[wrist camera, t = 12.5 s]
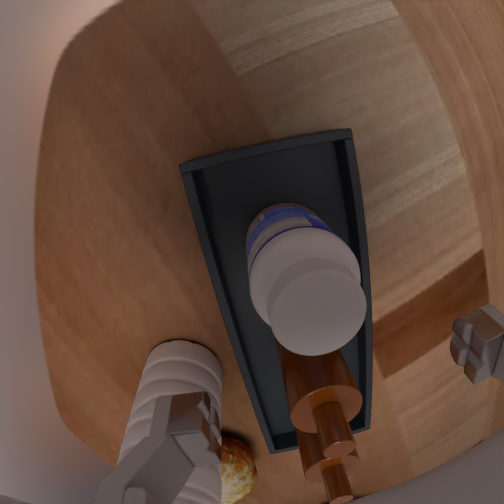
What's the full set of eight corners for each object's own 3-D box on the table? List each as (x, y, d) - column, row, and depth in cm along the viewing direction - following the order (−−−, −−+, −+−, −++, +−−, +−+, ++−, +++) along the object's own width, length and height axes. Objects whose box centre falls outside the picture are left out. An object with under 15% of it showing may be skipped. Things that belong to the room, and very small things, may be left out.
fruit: (276, 464, 31) (263, 523, 24) (201, 461, 34) (183, 511, 27) (236, 414, 27) (212, 488, 20) (152, 414, 30) (123, 471, 23)
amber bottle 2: (293, 421, 28) (313, 516, 17) (286, 392, 26) (308, 498, 16) (337, 409, 28) (368, 501, 17) (334, 380, 26) (372, 480, 16)
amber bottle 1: (279, 363, 25) (303, 477, 15) (269, 320, 23) (293, 439, 13) (331, 350, 25) (376, 456, 14) (326, 306, 23) (381, 414, 13)
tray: (362, 411, 29) (370, 428, 26) (268, 435, 29) (270, 454, 27) (337, 129, 19) (351, 128, 17) (185, 161, 20) (178, 164, 17)
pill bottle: (334, 257, 22) (396, 335, 13) (265, 290, 22) (286, 386, 13) (305, 186, 20) (364, 228, 11) (229, 222, 21) (229, 292, 11)
